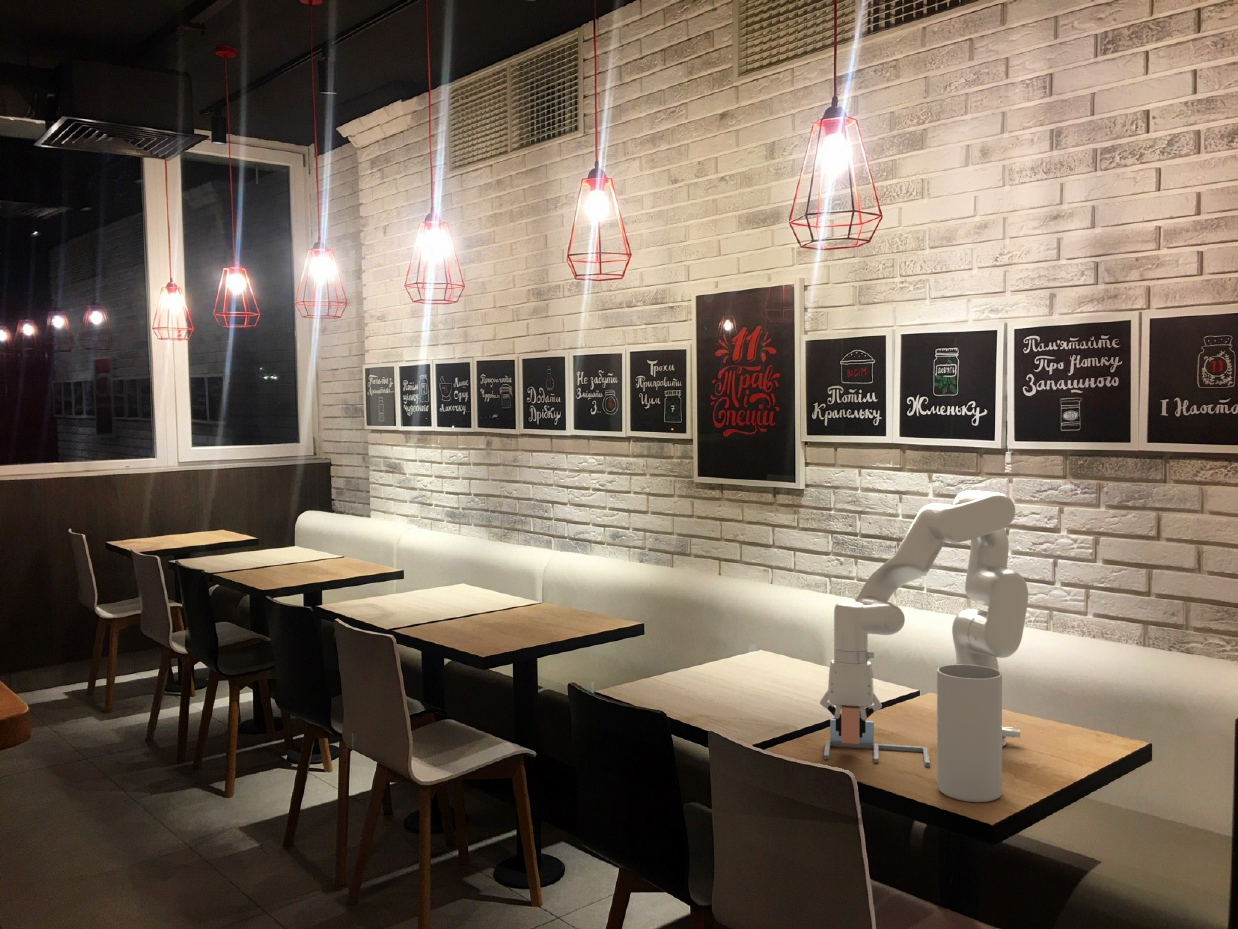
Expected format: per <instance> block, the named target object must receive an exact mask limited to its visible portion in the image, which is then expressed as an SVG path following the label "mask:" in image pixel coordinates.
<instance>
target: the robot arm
mask: <svg viewBox="0 0 1238 929" xmlns="http://www.w3.org/2000/svg"><path fill="white" fill-rule="evenodd" d="M953 500H954V501H953V505H952V504H944V503H929V504H926V505H924V506H923V507H921V509H920V510H919V511H918V513H917V515H916V517H915V518H914V520H913V522H912V523H911V525H910V527H909V528H908V530H907V532H906V534H905V535H904V537H903V539H902V541H901V543H900V544H899V546H898V548H897V550H896V551H895V553H894V554H893V555H892V556H891V557H890V558H889V559H888V560H886V561H885V562H884V563H883V564H882V565H881V566H879V568H877V569H876V570H875V571H874V572H873V573H872V574H871V575H870V577H869V578H868V579H867V580H866V582H865V583H864V584H863V586H862V587H861V589H860V592H859V593H858V595H857V596H856V599H855V601H840V602H838V603H837V604H835V606H834V612H833V615H834V616H833V618H834V620H833V625H834V626H833V628H834V629H833V639H834V640H833V642H834V643H833V644H834V645H833V647H834V648H833V659H831V661H830V664H829V671H828V681H827V682H828V684H827V685H828V688H827V690H826V692H825V693H824V695H823V696H822V698H821V699H820V701H819V705H820V706H822V707H824V708H825V709H826V710H828V711H829V712H830V714H831V715H832V716H833V717H834V719H836V731H839V736H841V707H842V706H851V707H859V708H860V721H859V737H860V738H862V733H866V721H867V719H868V718H869V717H870V716H872V714H874V713H875V712H878V711H879V710H881V709H882V708H883V705H882V703H881V702H880V700H879V699H878V696H877V695H876V693H875V691H874V675H873V674H874V673H873V668H872V663H871V661H868V660H870V659H875V652H872V651H870V650H869V648H868V644H869V643H868V642H869V640H868V638H869V637H868V636H869V635H879V636H892V635H895V634H898V633H899V632H900V631H901V630H902V629H903V627H904V625H905V621H906V620H905V614H904V612H903V611H902V609H901V608H900V607H899V606H898V605H896V604H895V603H893V602H889V600H890V598H892V596H893V595H894V593H895V592H897V590H898V589H899V588H901V587H902V586H903V585H906V584H908V583H909V582H910V583H911V582H913V581H916V580H917V579H920V578H922V577H923V576H925V575H927V574H928V573H929V572H930V570H931V568H932V566H933V564H934V563H935V560H936V559H937V557H938V556H939V554H940V552H941V550H942V548H943V547H944V545H945V543H946V542H947V543H953V544H954V543H962V542H967V541H970V552H969V559H968V565H967V571H966V578H965V584H964V588H965V589H964V590H965V591H964V592H965V593H966V596H967V598H968V599H970V600H971V601H972V602H974V603H977V604H979V605H983V606H986V607H987V610H982V609H979V608H967V609H964V610H962V611H960V612H959V613H958V614H957V615H956V617H955V618H954V620H953V621H952V629H951V632H952V634H951V635H952V640H953V644H954V651H955V662H956V664H966V665H978V666H985V667H989V668H993V669H996V670H998V671H1000V670H999V663H998V658H999V659H1004V658H1009V657H1010V656H1012V655H1014V654H1015V653H1016V652H1017V650H1018V649H1019V647H1020V645H1021V642H1022V639H1023V634H1024V630H1025V629H1024V628H1025V622H1026V614H1027V610H1028V603H1029V589H1028V584H1027V583H1026V580H1025V579H1024V577H1023V576H1022V574H1020V573H1019V572H1017V571H1015V570H1014V569H1013V570H1012V569H1009V568H1008V561H1009V560H1008V559H1009V548H1010V544H1009V542H1010V541H1009V538H1008V534H1007V531H1006V527H1008V526H1010V525H1011V524H1012V522H1013V521H1014V519H1015V516H1016V505H1015V503H1014V501H1013V499H1012V498H1011V497H1009V496H1008V495H1007V494H1004V493H1000V492H996V491H995V492H994V491H984V490H965V491H962V492H959V493H958V494H957V495H956V497H955V498H954V499H953ZM1007 737H1008V738H1014V739H1015V738H1017V739H1018V738H1019V739H1020V738H1021V730H1020V729H1018V728H1017V729H1016V728H1014V727H1013V726H1002V748H1003V747H1004V746H1005V745H1006V744H1007V743H1006V742H1007V739H1006V738H1007Z"/></svg>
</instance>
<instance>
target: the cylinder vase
mask: <svg viewBox="0 0 1238 929" xmlns="http://www.w3.org/2000/svg"><path fill="white" fill-rule="evenodd" d="M936 679H937V680H936V727H937V728H936V729H937V733H936V734H937V736H936V739H937V742H936V744H937V750H936V751H937V752H936V754H937V756H936V757H937V758H936V759H937V762H936V763H937V765H936V767H937V768H936V771H937V783H936V784H937V788H938V790H939V792H940V793H942V794H943V795H945V796H947V797H949V798H951V799H954V800H957V801H962V802H969V803H988V802H993V801H996V800H997V799H999V798H1000V797H1001V796H1002V794H1003V747H1002V727H1003V673H1002V672H1001V671H1000V670H999V671H998V670H996V669H993V668H989V667H985V666H978V665H966V664H955V663H954V664H945V665H942V666H939V667H938V668H936Z"/></svg>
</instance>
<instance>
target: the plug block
mask: <svg viewBox="0 0 1238 929" xmlns="http://www.w3.org/2000/svg"><path fill="white" fill-rule="evenodd" d="M840 713H841V743H852V744H859V741H860V737H859V721H860V715H861V713H860V708H859V707H851V706H842V707H841V712H840Z"/></svg>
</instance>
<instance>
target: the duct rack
mask: <svg viewBox="0 0 1238 929" xmlns="http://www.w3.org/2000/svg"><path fill="white" fill-rule="evenodd" d="M829 722H830V724H829V725H830V729H829V730H830V734H829V735H830V736H829V737H830V740H827V739H826V740H825V746H824V753H823V760H824V759H825V761H827V760H826V759H828V760H829V759H830V751H831V747H838V748H839V747H840V748H854V749H867V750H868V749H869V750H870V749H871V750H873V763H874V764H879V750H882V749H883V750H882V751H884V750H885V751H898V752H913V753H922V755H923V760H924V767H927V768H930V767H931V761H930V756H929V749H928V746H918V745H917V746H915V745H902V744H900V745H899V744H888V743H886V744H885V743H875V741H874V740H875V725H874V724H875V722H874V721H873V720H872V721H871V720H866V733H862V738H860V741H859V744H852V743H841V736H839V731H836V718H830V720H829Z"/></svg>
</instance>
